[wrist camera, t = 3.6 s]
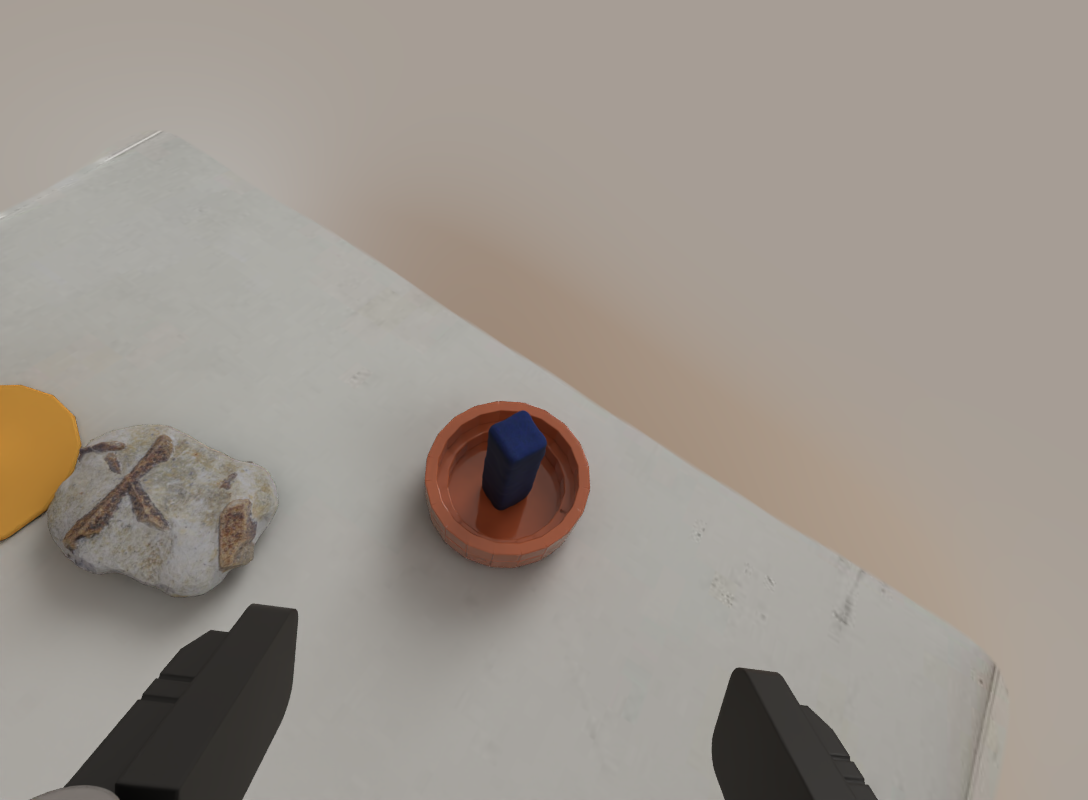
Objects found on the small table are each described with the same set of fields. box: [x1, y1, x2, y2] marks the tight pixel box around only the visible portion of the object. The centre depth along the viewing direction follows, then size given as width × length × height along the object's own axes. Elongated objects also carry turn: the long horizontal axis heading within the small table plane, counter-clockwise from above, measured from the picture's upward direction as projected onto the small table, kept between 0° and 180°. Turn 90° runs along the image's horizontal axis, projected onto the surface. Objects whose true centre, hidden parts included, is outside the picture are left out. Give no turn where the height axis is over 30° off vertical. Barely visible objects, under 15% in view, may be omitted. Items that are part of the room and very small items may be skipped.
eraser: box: [482, 410, 547, 510], centre depth 28 cm, size 2×2×7 cm
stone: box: [48, 425, 279, 597], centre depth 28 cm, size 10×7×3 cm
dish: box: [425, 401, 590, 568], centre depth 30 cm, size 8×8×3 cm
